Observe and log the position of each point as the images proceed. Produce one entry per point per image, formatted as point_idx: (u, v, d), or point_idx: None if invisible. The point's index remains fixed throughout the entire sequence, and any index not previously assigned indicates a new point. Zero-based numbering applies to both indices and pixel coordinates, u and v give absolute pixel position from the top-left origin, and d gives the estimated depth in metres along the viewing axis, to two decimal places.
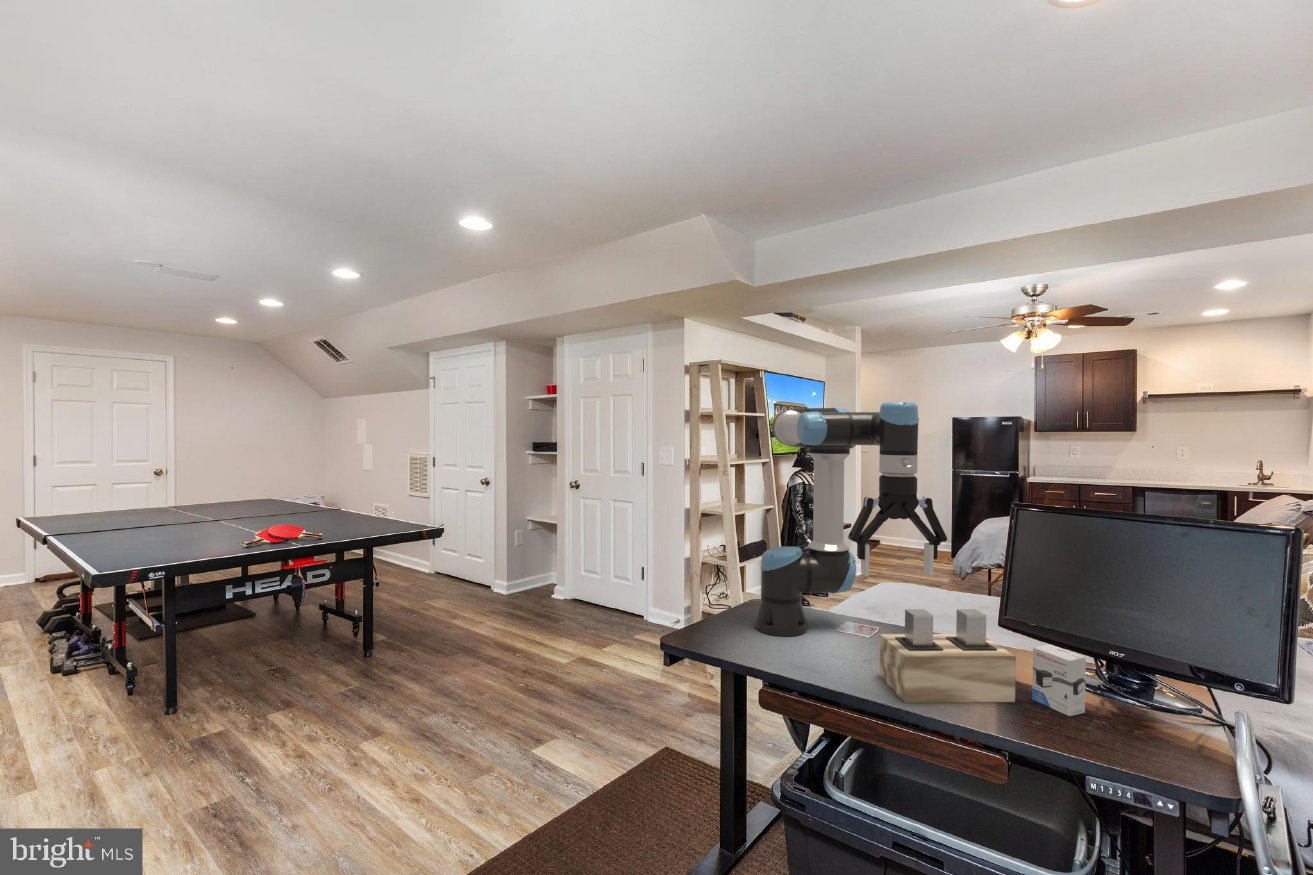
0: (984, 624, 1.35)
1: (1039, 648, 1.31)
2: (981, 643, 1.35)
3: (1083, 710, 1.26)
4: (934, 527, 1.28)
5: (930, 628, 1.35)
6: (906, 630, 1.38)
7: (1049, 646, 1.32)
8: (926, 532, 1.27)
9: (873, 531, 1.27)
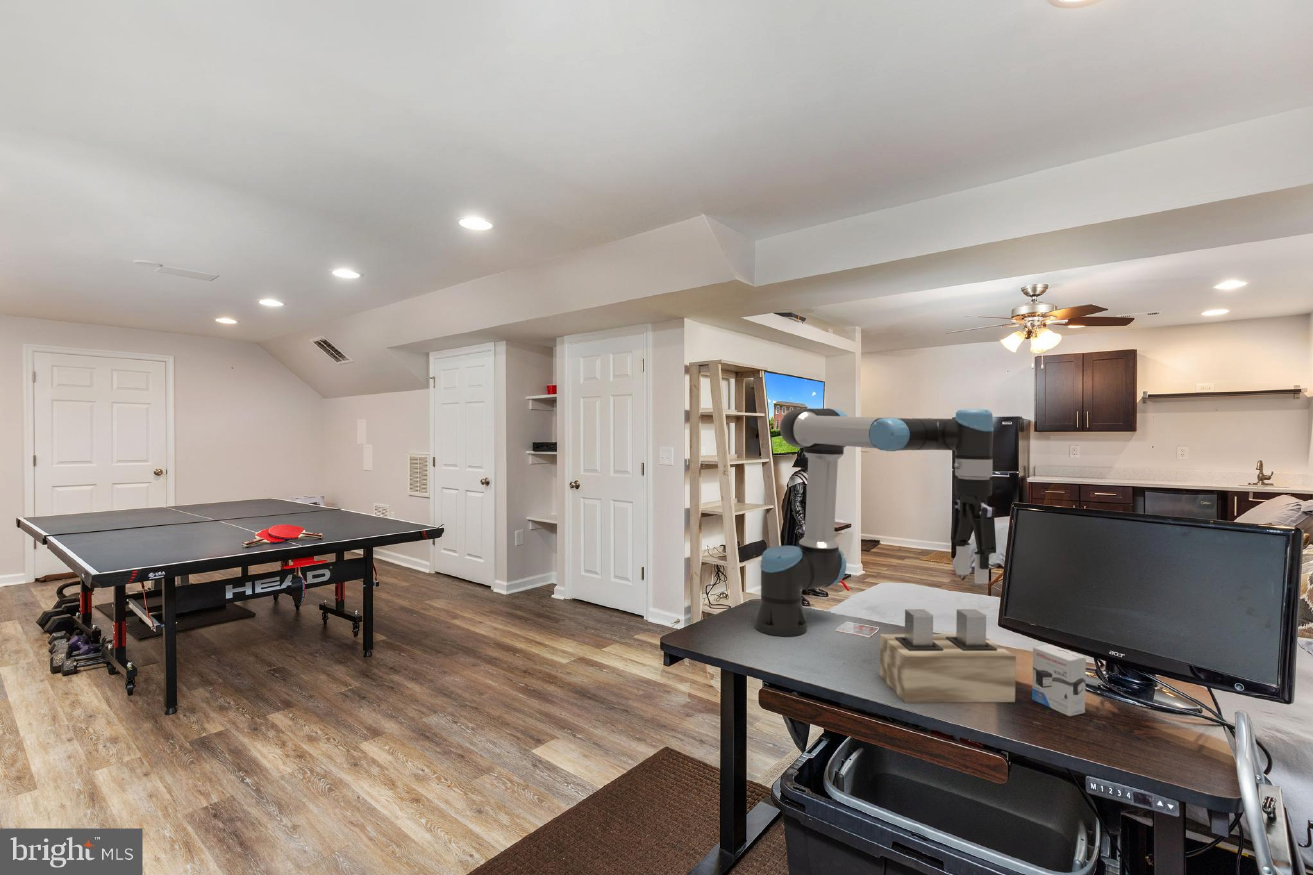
0: (984, 624, 1.35)
1: (1039, 648, 1.31)
2: (981, 643, 1.35)
3: (1083, 710, 1.26)
4: None
5: (930, 628, 1.35)
6: (906, 630, 1.38)
7: (1049, 646, 1.32)
8: (975, 539, 1.33)
9: (959, 531, 1.40)
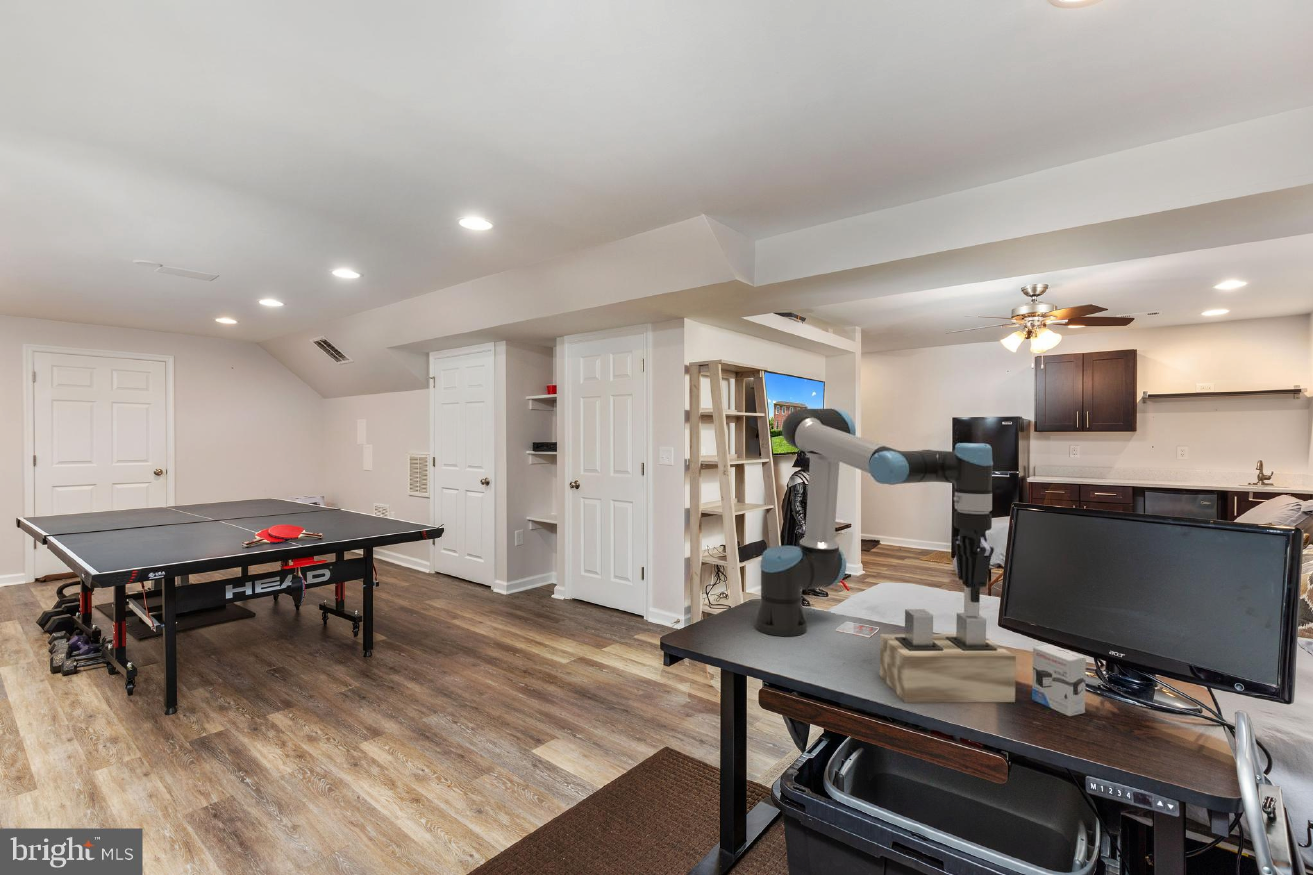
0: (984, 628, 1.35)
1: (1039, 648, 1.31)
2: None
3: (1083, 710, 1.26)
4: None
5: (930, 628, 1.35)
6: (906, 630, 1.38)
7: (1049, 646, 1.32)
8: (969, 572, 1.36)
9: (964, 568, 1.38)
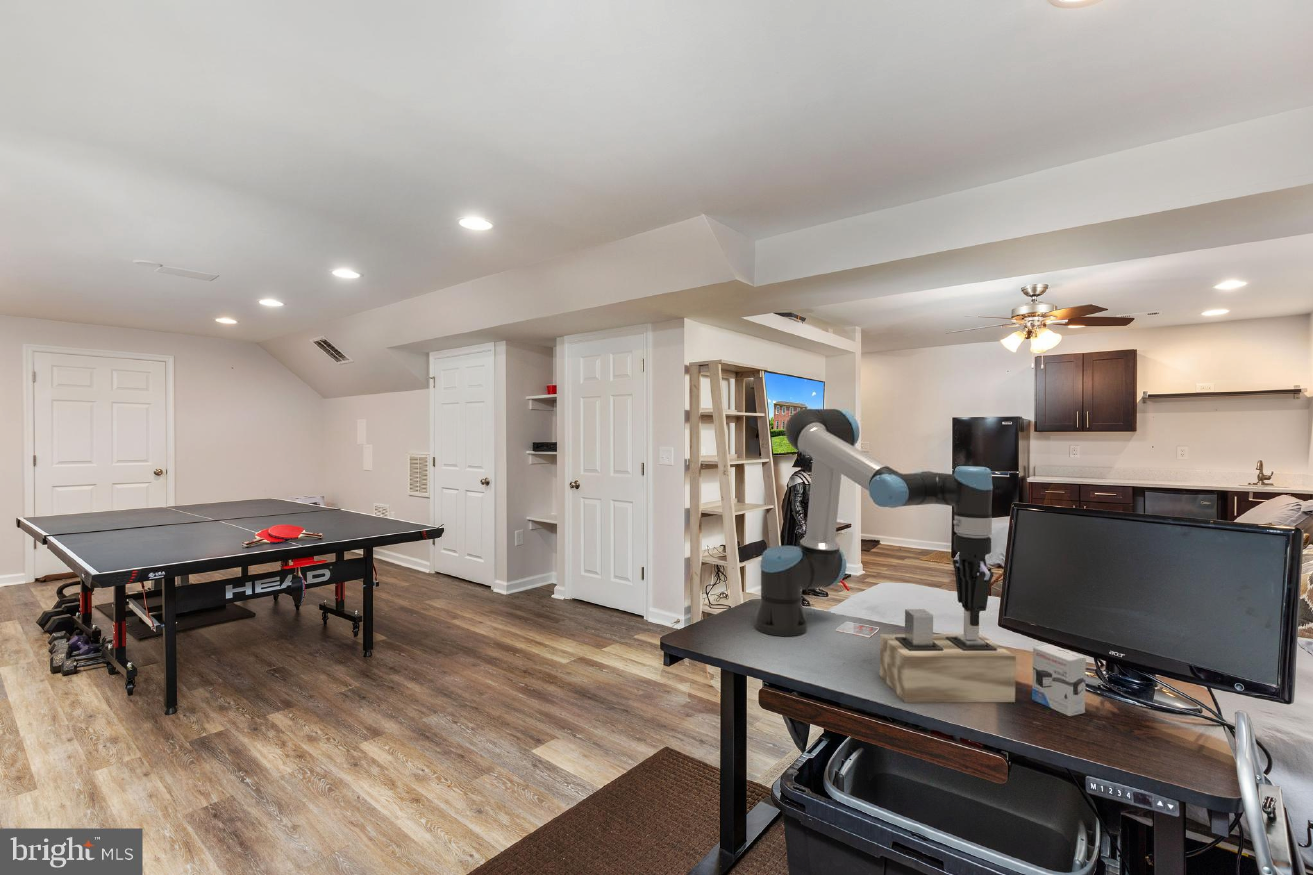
0: None
1: (1039, 648, 1.31)
2: None
3: (1083, 710, 1.26)
4: None
5: (930, 628, 1.35)
6: (906, 630, 1.38)
7: (1049, 646, 1.32)
8: (968, 596, 1.36)
9: (964, 592, 1.38)
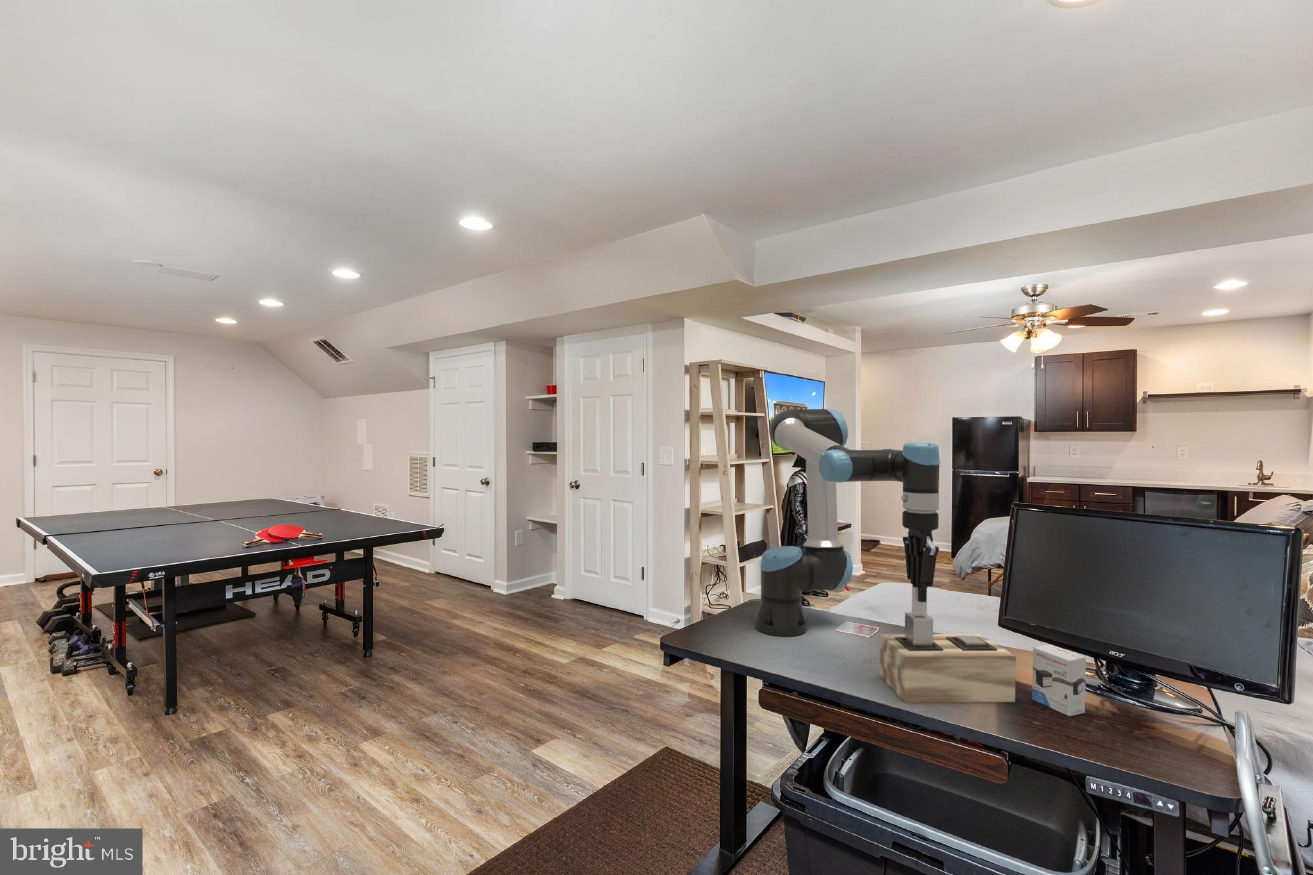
0: None
1: (1039, 648, 1.31)
2: None
3: (1083, 710, 1.26)
4: None
5: (930, 631, 1.35)
6: (906, 633, 1.38)
7: (1049, 646, 1.32)
8: (916, 572, 1.36)
9: (912, 568, 1.38)
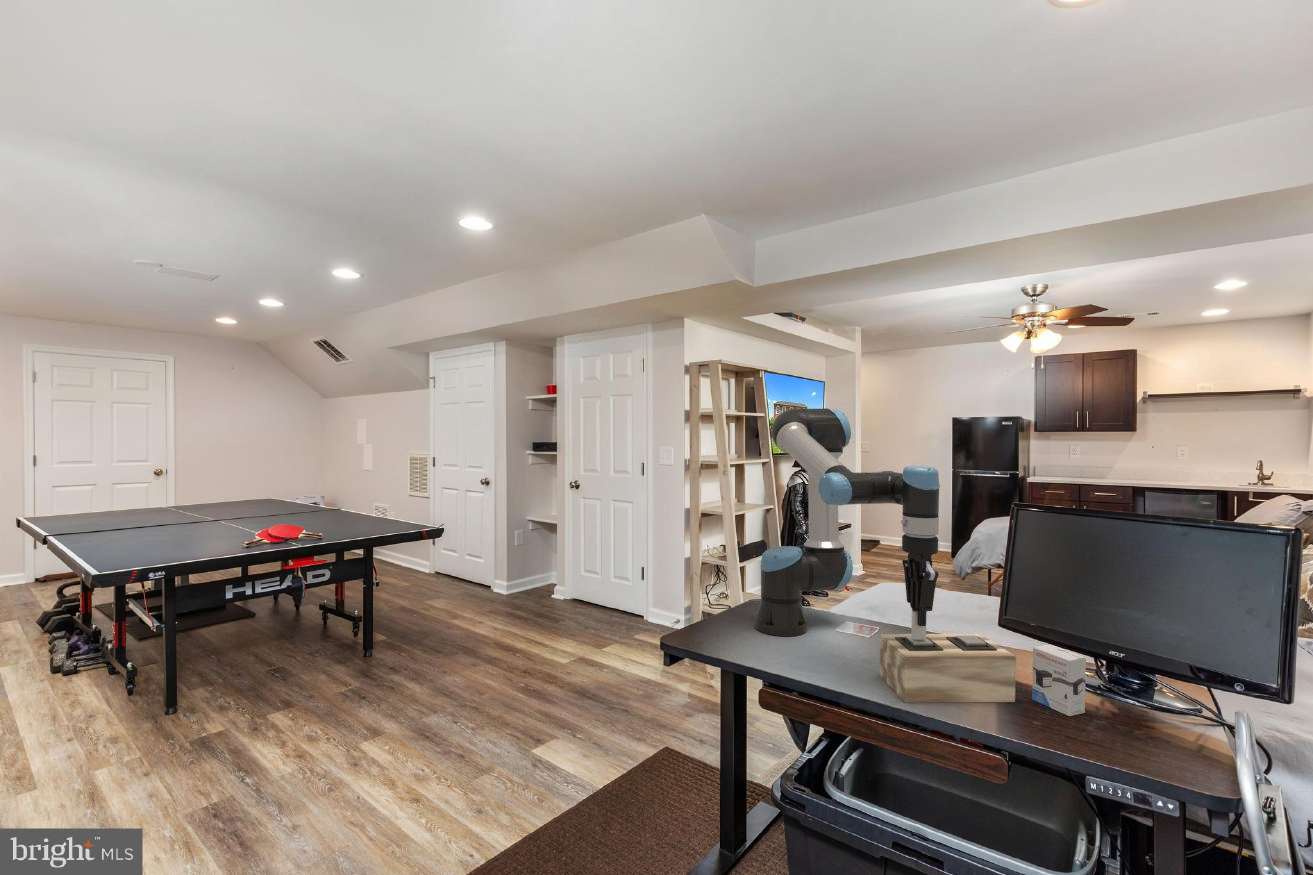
0: None
1: (1039, 648, 1.31)
2: None
3: (1083, 710, 1.26)
4: None
5: None
6: None
7: (1049, 646, 1.32)
8: (916, 596, 1.36)
9: (912, 592, 1.38)
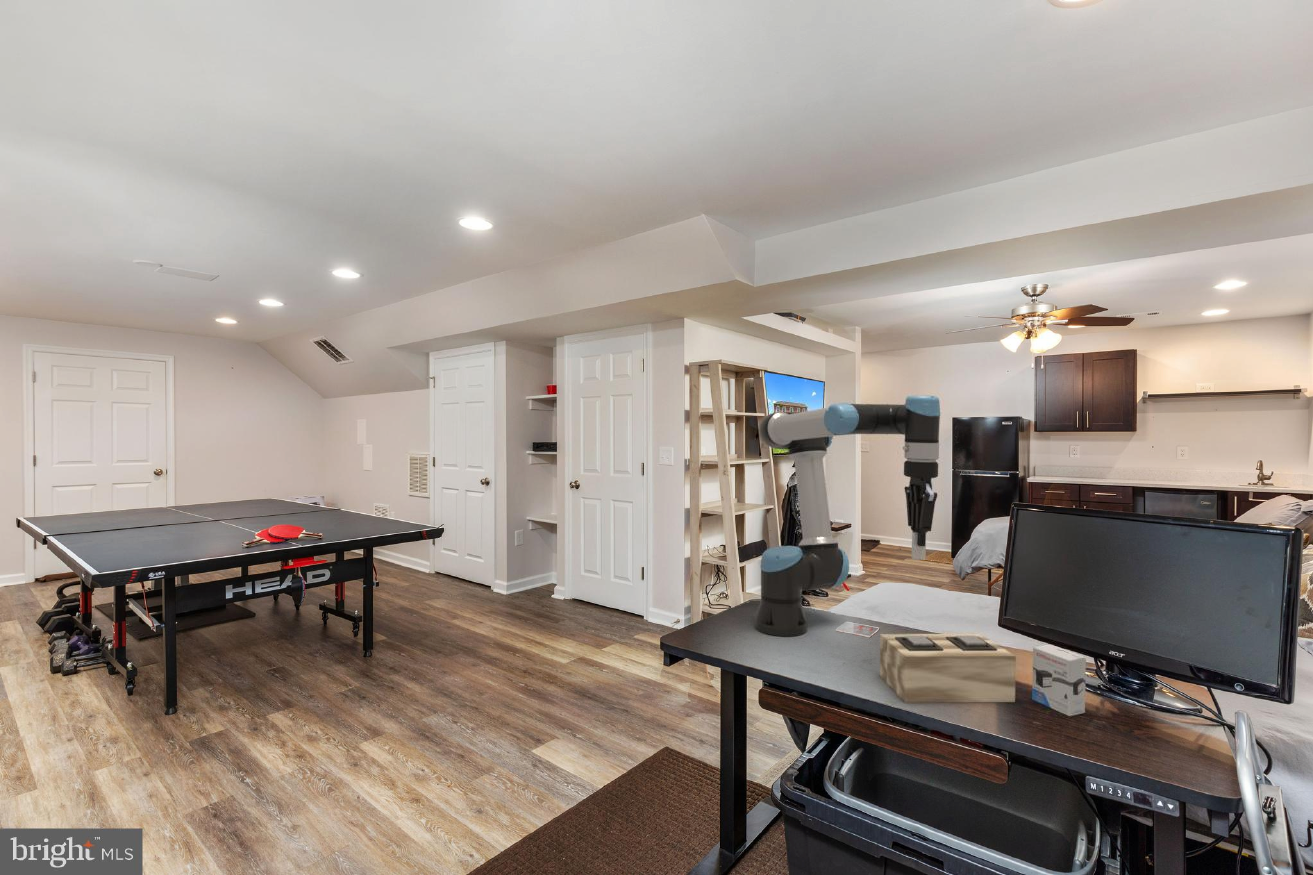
0: None
1: (1039, 648, 1.31)
2: None
3: (1083, 710, 1.26)
4: None
5: None
6: None
7: (1049, 646, 1.32)
8: (916, 518, 1.43)
9: (912, 515, 1.45)
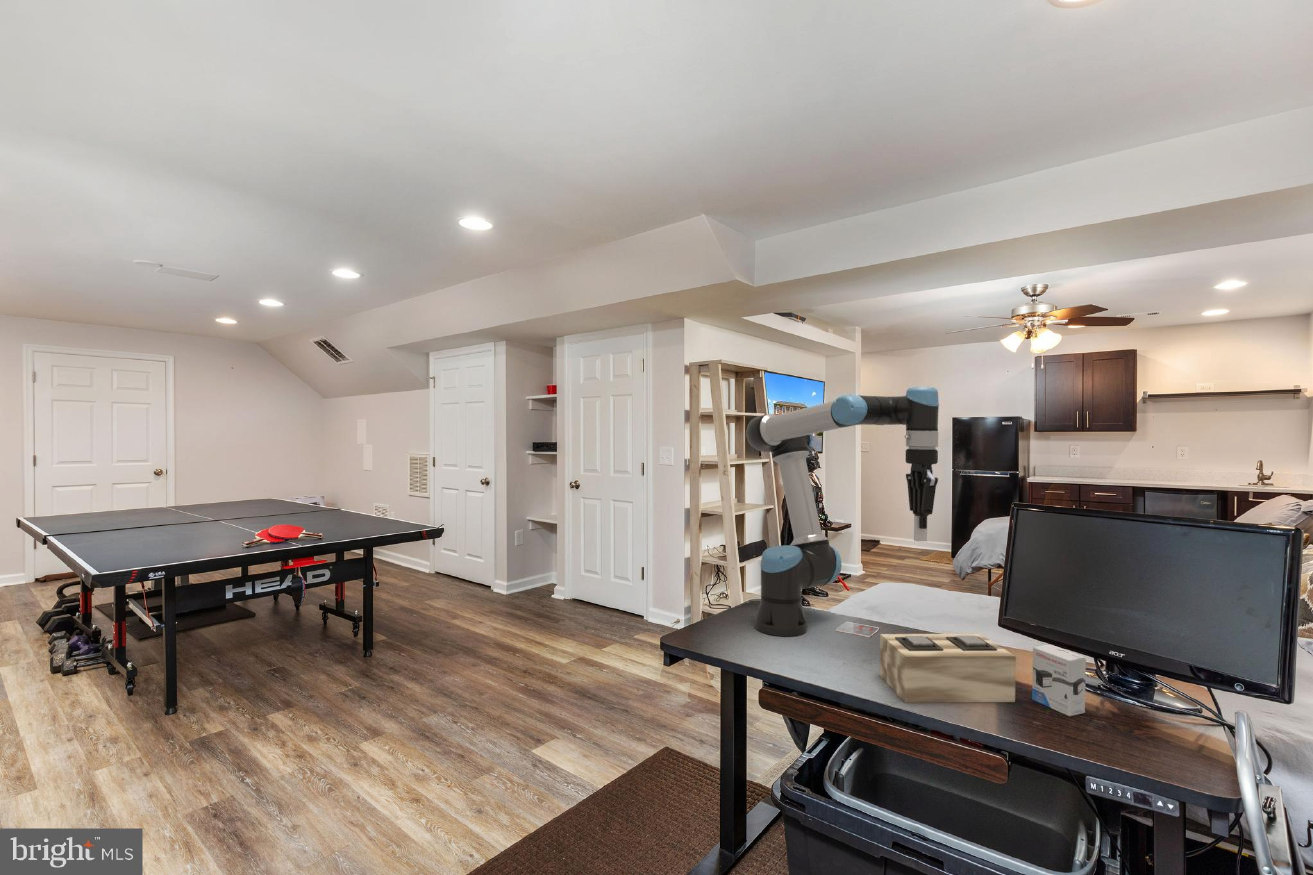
0: None
1: (1039, 648, 1.31)
2: None
3: (1083, 710, 1.26)
4: None
5: None
6: None
7: (1049, 646, 1.32)
8: (918, 502, 1.53)
9: (914, 500, 1.55)
